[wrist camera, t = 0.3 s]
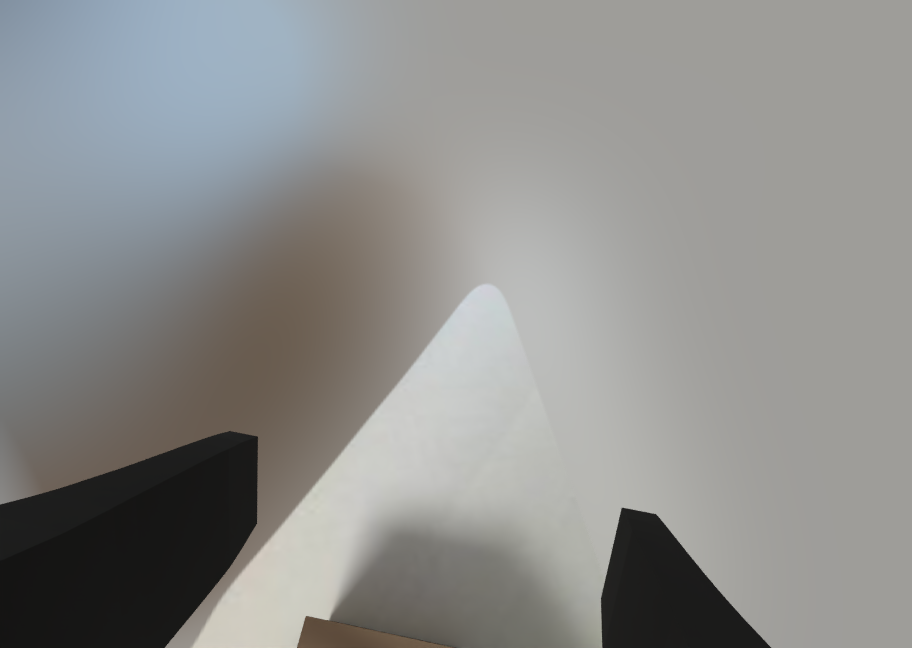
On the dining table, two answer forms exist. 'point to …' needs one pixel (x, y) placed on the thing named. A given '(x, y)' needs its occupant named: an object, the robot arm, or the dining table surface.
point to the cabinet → (353, 637)
